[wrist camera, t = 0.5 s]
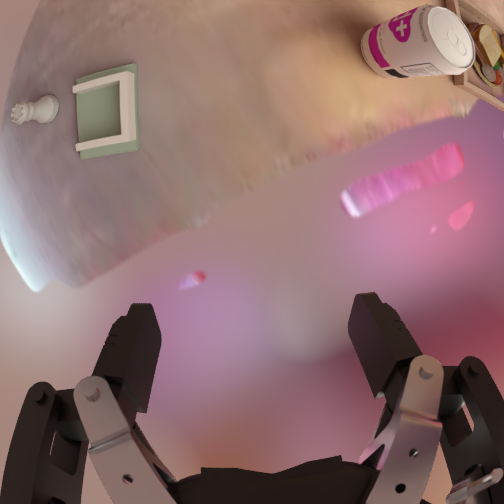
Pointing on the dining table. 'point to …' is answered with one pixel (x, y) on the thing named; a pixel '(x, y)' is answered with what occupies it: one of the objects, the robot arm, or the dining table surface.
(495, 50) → the toy sandwich meal
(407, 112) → the dining table surface
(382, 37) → the supplement can
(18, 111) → the rook chess piece
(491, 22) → the tray rim
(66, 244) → the dining table surface
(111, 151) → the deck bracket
